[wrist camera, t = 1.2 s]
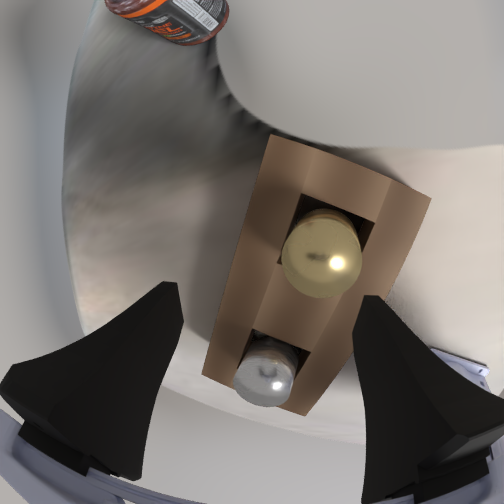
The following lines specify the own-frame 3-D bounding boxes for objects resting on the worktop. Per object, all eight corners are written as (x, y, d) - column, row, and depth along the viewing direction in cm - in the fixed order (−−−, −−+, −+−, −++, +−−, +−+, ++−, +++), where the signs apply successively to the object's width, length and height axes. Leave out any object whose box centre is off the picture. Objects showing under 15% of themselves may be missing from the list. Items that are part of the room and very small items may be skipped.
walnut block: (413, 190, 17) (431, 198, 13) (311, 386, 25) (305, 416, 21) (283, 139, 18) (270, 134, 15) (218, 348, 26) (201, 374, 23)
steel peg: (306, 349, 19) (299, 381, 16) (287, 382, 21) (277, 413, 18) (256, 329, 20) (241, 358, 17) (242, 363, 21) (227, 393, 18)
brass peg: (367, 223, 15) (375, 239, 12) (342, 281, 17) (341, 308, 14) (305, 198, 16) (297, 208, 13) (283, 258, 17) (271, 280, 14)
